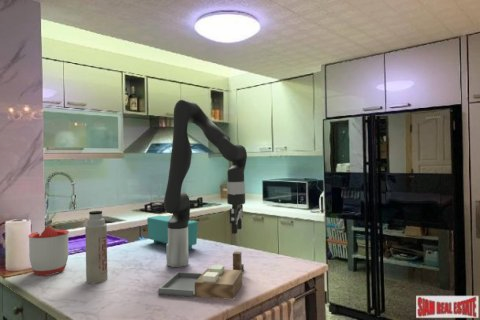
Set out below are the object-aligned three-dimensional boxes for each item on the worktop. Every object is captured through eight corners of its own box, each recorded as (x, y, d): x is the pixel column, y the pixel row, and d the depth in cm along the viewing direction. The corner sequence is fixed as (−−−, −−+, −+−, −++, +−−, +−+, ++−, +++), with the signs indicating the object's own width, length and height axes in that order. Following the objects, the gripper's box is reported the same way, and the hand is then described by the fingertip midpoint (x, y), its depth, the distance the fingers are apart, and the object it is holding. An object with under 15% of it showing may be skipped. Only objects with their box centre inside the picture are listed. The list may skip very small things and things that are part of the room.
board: (194, 296, 123) (194, 282, 123) (208, 280, 138) (207, 268, 138) (232, 299, 120) (232, 284, 120) (242, 283, 135) (242, 270, 135)
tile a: (203, 281, 124) (202, 275, 124) (206, 277, 128) (206, 271, 128) (215, 282, 123) (215, 276, 123) (218, 277, 127) (218, 272, 127)
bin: (158, 295, 124) (158, 288, 124) (177, 277, 142) (177, 271, 142) (192, 297, 122) (192, 290, 122) (208, 279, 139) (208, 273, 139)
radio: (199, 249, 187) (199, 221, 187) (184, 253, 179) (184, 224, 179) (161, 239, 209) (161, 214, 209) (147, 243, 202) (146, 217, 201)
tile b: (209, 274, 131) (209, 268, 131) (213, 270, 136) (213, 265, 136) (221, 274, 130) (221, 269, 130) (224, 270, 135) (224, 265, 135)
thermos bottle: (111, 278, 142) (110, 210, 142) (94, 284, 136) (93, 213, 135) (99, 275, 147) (98, 209, 146) (82, 281, 140) (80, 211, 140)
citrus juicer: (61, 263, 165) (60, 221, 164) (74, 271, 152) (73, 226, 152) (23, 271, 154) (22, 226, 153) (34, 280, 141) (33, 231, 141)
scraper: (229, 280, 138) (229, 257, 138) (237, 269, 152) (237, 248, 152) (237, 281, 138) (236, 257, 138) (244, 270, 151) (244, 248, 151)
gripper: (231, 190, 152) (232, 227, 152) (223, 194, 138) (223, 234, 139) (248, 190, 151) (248, 228, 151) (241, 194, 137) (242, 235, 137)
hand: (236, 231), depth 145 cm, fingers open, 8 cm apart
